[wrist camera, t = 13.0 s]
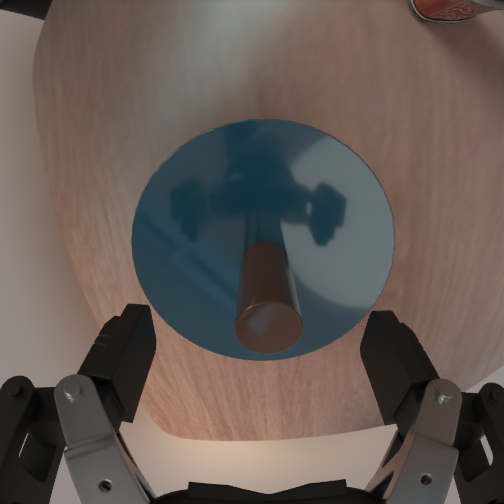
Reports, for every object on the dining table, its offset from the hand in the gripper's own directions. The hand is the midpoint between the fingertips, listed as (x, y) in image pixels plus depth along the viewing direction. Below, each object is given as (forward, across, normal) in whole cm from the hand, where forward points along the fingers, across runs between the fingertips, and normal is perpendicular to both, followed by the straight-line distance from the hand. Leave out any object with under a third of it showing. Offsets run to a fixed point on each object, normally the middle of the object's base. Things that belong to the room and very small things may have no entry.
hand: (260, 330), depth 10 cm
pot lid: (+5, 0, 0) cm, 5 cm away
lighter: (+14, -15, -20) cm, 29 cm away
